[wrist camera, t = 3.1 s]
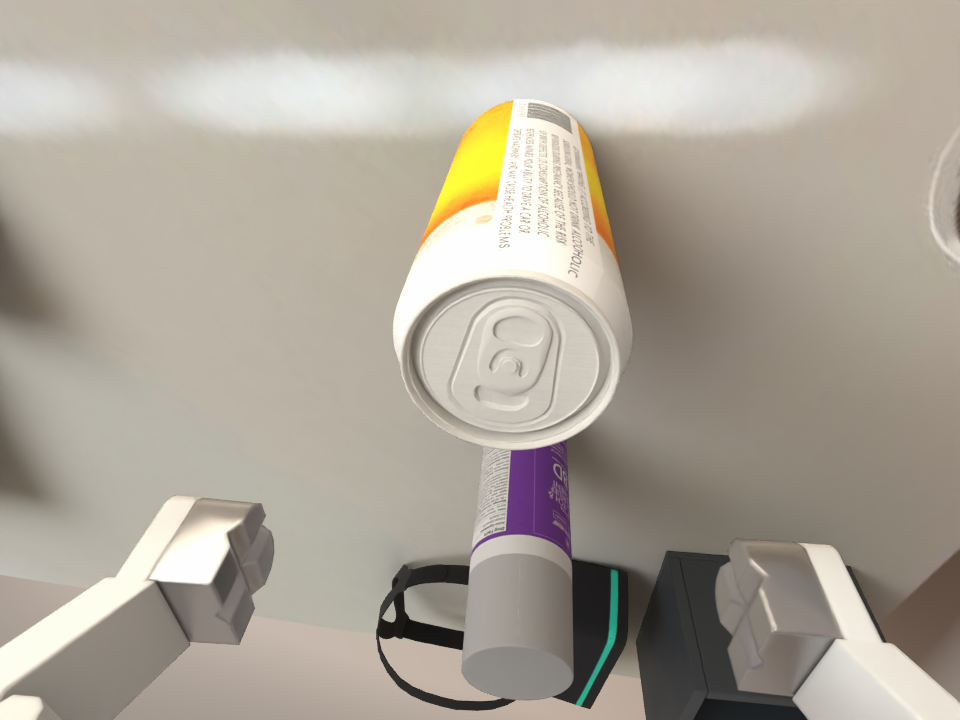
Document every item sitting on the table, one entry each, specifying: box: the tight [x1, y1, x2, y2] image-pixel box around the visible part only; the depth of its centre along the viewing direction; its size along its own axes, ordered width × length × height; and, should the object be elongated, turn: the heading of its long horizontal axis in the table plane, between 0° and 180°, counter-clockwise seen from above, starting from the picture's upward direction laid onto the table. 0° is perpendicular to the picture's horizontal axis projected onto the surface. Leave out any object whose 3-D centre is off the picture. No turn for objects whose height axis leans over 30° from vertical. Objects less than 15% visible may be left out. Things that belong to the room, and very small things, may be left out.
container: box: [461, 440, 574, 700], centre depth 29 cm, size 5×5×15 cm
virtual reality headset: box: [376, 560, 628, 711], centre depth 42 cm, size 11×17×10 cm, turn 83°
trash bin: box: [636, 551, 887, 720], centre depth 41 cm, size 13×13×10 cm
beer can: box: [393, 99, 633, 450], centre depth 20 cm, size 6×6×15 cm
